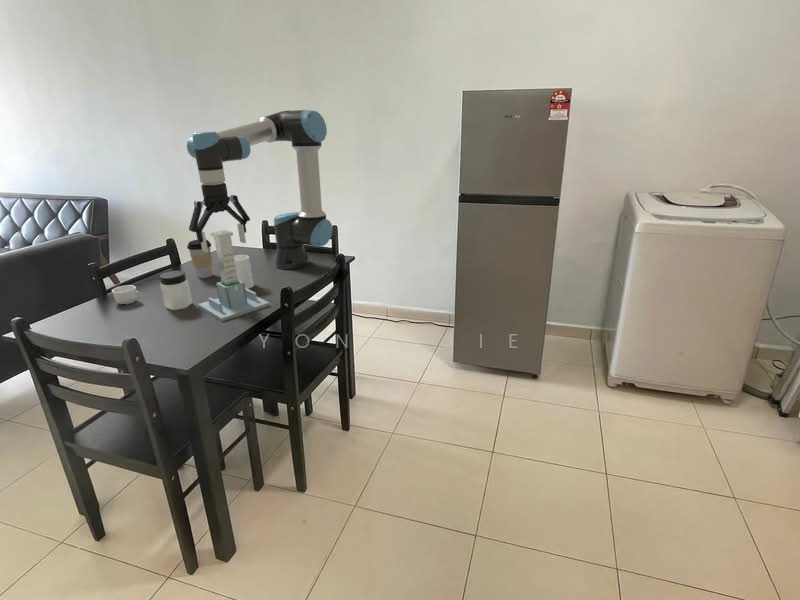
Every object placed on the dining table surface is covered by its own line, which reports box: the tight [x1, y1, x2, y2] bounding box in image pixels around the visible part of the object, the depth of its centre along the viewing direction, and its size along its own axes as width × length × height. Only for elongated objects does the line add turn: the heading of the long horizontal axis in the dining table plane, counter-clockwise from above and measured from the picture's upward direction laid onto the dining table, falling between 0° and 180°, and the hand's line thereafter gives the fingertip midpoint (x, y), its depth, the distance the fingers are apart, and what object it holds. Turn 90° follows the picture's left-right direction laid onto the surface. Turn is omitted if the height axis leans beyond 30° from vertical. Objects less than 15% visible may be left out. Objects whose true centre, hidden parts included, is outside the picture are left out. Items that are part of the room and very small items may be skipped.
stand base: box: [197, 280, 271, 322], centre depth 161 cm, size 18×18×9 cm
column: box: [210, 229, 239, 287], centre depth 156 cm, size 5×5×20 cm
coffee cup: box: [186, 239, 213, 279], centre depth 191 cm, size 9×9×15 cm
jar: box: [159, 270, 193, 311], centre depth 162 cm, size 9×8×12 cm
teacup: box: [111, 284, 142, 305], centre depth 167 cm, size 10×8×5 cm
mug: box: [234, 254, 255, 290], centre depth 178 cm, size 12×8×12 cm
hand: (224, 246), depth 154 cm, fingers open, 13 cm apart
